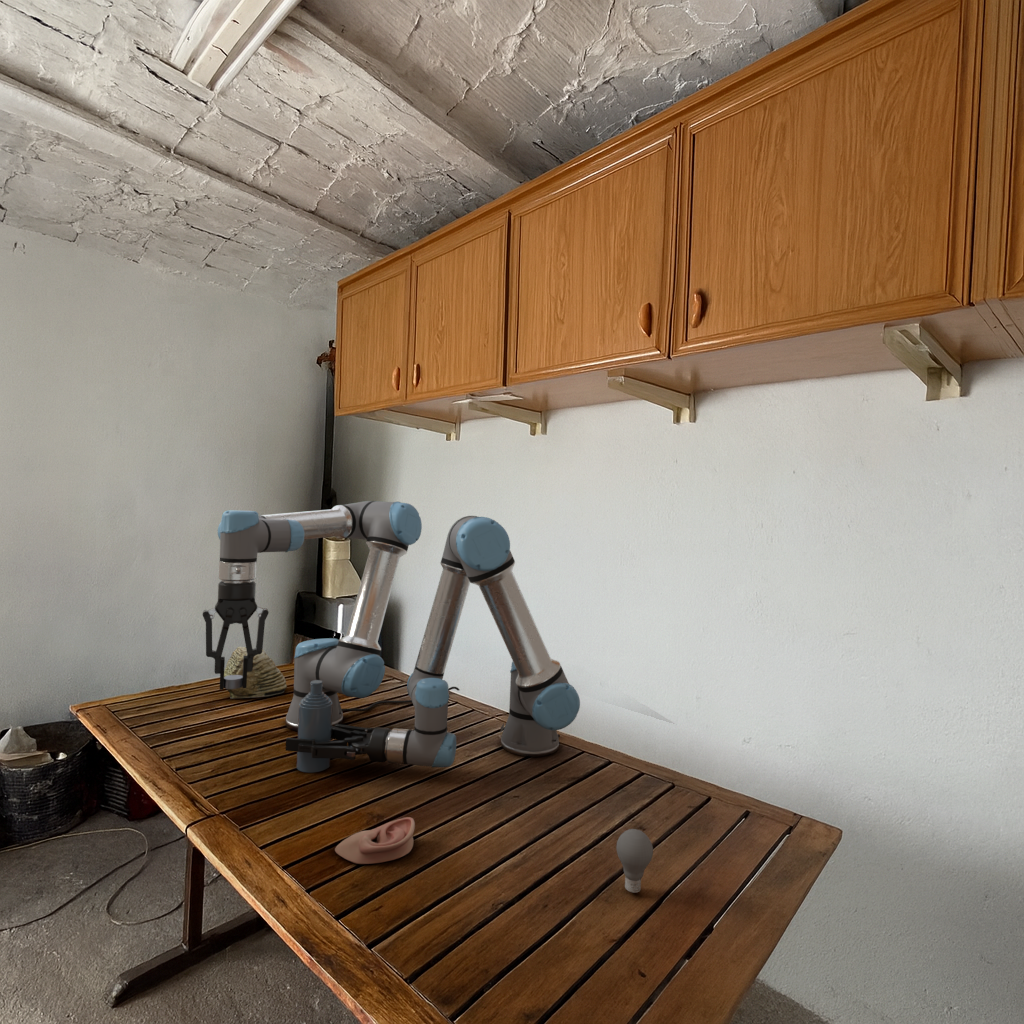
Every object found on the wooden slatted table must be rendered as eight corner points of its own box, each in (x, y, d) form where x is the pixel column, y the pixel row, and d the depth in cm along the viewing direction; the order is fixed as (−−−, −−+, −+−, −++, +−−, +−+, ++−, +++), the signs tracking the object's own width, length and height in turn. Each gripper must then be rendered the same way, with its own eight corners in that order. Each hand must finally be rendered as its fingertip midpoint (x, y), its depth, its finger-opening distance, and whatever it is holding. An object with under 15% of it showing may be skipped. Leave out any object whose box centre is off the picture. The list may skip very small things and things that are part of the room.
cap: (236, 682, 142) (237, 673, 142) (246, 686, 139) (247, 677, 139) (219, 686, 138) (219, 677, 138) (229, 690, 136) (229, 680, 136)
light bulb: (610, 879, 108) (613, 822, 108) (644, 879, 109) (647, 822, 109) (619, 902, 102) (622, 840, 102) (655, 901, 103) (658, 840, 103)
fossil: (218, 695, 195) (220, 647, 195) (278, 685, 208) (279, 640, 207) (228, 703, 189) (230, 653, 188) (289, 692, 201) (290, 645, 201)
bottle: (332, 769, 147) (335, 684, 147) (298, 774, 144) (301, 687, 143) (327, 757, 154) (330, 676, 153) (294, 761, 151) (297, 678, 150)
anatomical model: (327, 836, 111) (356, 806, 122) (326, 858, 111) (355, 826, 122) (398, 848, 108) (421, 815, 119) (397, 871, 108) (420, 836, 119)
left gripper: (193, 583, 132) (189, 695, 132) (280, 582, 139) (275, 688, 139) (194, 578, 138) (190, 685, 139) (277, 578, 145) (272, 679, 146)
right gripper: (374, 780, 137) (273, 771, 139) (400, 744, 157) (311, 737, 159) (375, 746, 137) (274, 737, 139) (401, 714, 157) (312, 707, 159)
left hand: (233, 686), depth 139 cm, fingers closed on cap, 4 cm apart
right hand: (294, 737), depth 149 cm, fingers closed on bottle, 8 cm apart
